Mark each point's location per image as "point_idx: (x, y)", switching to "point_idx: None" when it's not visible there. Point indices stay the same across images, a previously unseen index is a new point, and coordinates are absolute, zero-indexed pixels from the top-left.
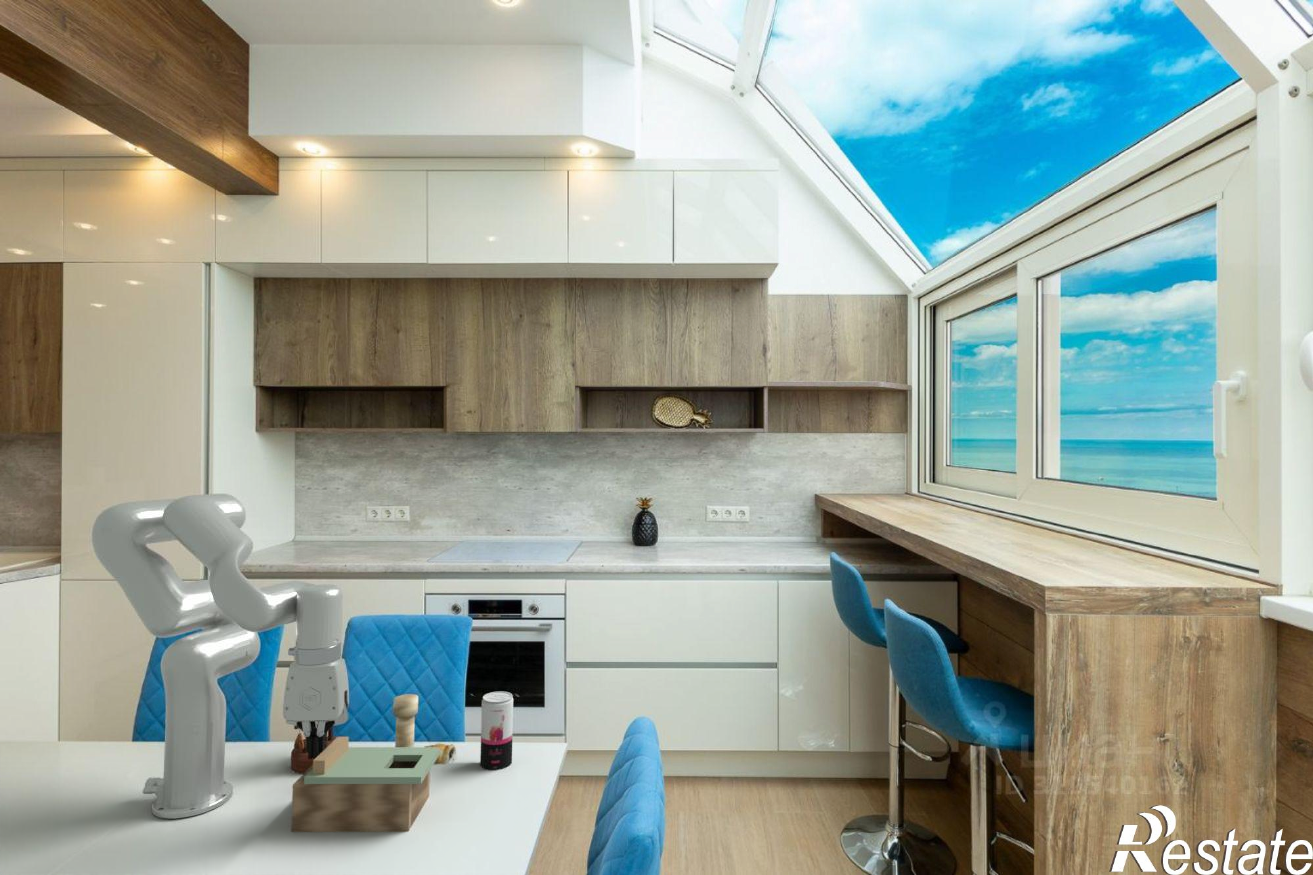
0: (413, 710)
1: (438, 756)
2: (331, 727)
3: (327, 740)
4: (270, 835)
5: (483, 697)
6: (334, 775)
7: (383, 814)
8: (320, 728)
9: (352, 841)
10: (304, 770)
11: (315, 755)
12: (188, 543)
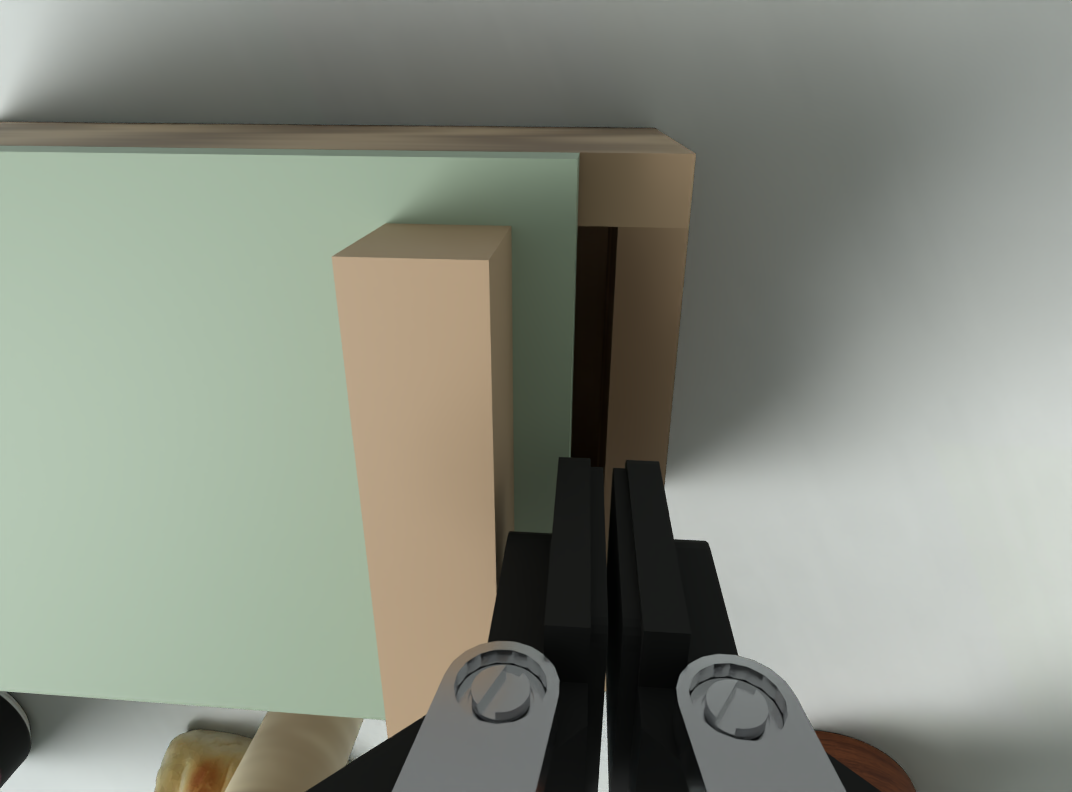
0: None
1: (189, 778)
2: None
3: None
4: (788, 154)
5: None
6: (264, 194)
7: (34, 129)
8: (485, 759)
9: (275, 76)
10: (830, 747)
11: (573, 473)
12: None
